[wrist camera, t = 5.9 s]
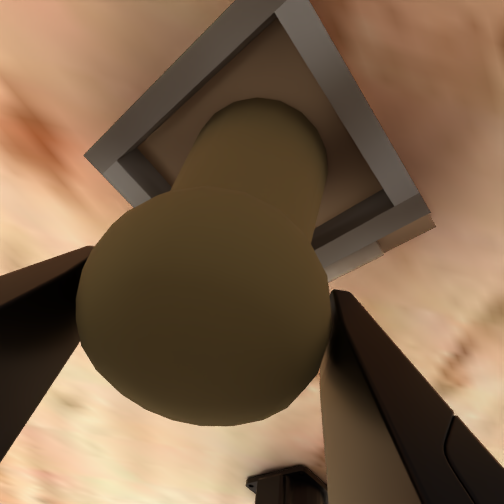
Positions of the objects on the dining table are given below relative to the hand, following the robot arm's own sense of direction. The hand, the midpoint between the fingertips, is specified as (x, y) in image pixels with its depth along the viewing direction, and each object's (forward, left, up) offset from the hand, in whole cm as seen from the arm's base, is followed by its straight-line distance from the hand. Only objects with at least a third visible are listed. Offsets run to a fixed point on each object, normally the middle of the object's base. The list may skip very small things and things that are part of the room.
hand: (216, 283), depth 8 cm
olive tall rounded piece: (0, 0, -9) cm, 8 cm away
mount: (-1, 0, -9) cm, 9 cm away
